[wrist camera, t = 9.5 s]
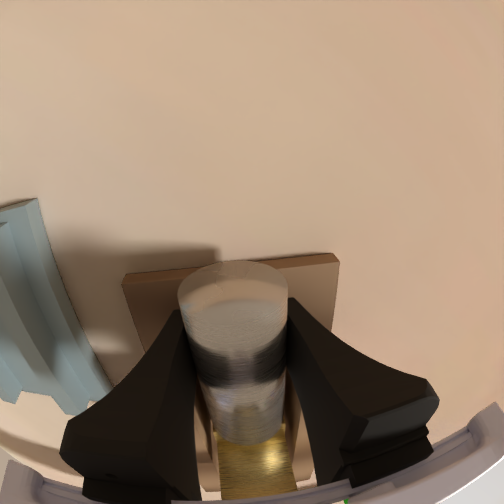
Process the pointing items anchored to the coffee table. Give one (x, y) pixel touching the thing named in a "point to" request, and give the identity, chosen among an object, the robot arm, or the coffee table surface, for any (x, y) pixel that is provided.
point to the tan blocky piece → (255, 468)
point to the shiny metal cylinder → (238, 345)
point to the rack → (40, 320)
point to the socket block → (149, 326)
